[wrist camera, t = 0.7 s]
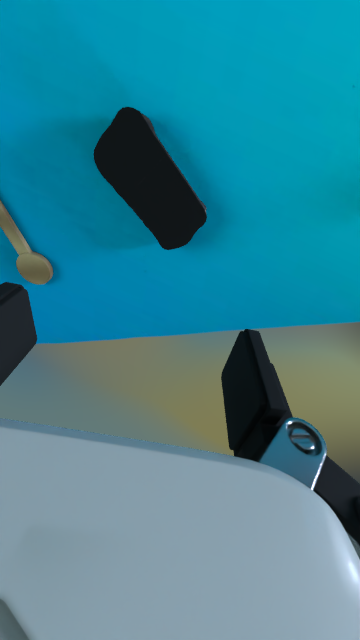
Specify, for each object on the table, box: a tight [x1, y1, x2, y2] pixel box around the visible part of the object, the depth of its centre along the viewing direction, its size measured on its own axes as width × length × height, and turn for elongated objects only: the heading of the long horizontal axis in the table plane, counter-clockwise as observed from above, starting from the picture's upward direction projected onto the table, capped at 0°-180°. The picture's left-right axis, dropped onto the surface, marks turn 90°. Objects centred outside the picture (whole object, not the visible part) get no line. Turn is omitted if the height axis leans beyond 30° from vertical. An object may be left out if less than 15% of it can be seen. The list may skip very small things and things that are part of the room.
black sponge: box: [94, 107, 207, 250], centre depth 33 cm, size 16×8×4 cm, turn 38°
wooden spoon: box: [0, 200, 53, 284], centre depth 39 cm, size 18×6×1 cm, turn 15°
